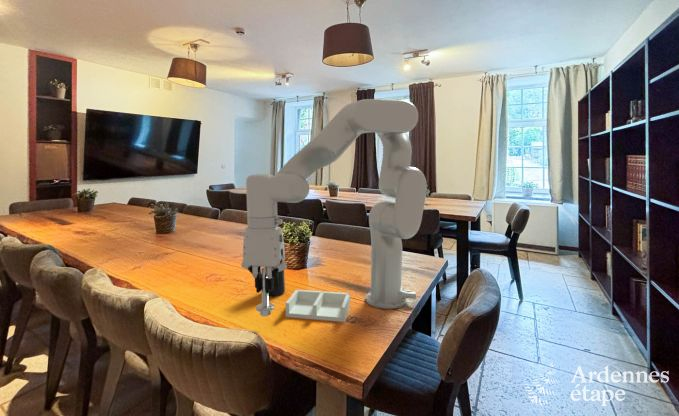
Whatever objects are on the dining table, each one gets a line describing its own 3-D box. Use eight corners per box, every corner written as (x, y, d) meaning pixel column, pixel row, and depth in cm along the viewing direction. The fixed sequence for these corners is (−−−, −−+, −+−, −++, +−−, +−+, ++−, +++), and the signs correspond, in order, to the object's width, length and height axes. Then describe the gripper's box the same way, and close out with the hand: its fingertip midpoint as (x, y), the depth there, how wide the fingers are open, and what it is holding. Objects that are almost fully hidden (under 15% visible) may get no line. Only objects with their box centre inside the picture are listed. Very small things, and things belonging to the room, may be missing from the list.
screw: (278, 312, 91) (268, 319, 86) (262, 309, 92) (252, 316, 88) (276, 265, 89) (266, 271, 84) (261, 263, 90) (250, 269, 86)
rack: (350, 306, 102) (350, 293, 101) (344, 322, 92) (344, 307, 91) (296, 302, 105) (296, 289, 104) (285, 317, 95) (285, 303, 94)
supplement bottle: (273, 287, 117) (272, 254, 115) (289, 291, 113) (288, 257, 112) (259, 294, 111) (258, 259, 109) (275, 298, 108) (274, 262, 106)
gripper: (296, 221, 88) (297, 287, 91) (240, 219, 91) (243, 283, 93) (287, 226, 81) (288, 299, 83) (226, 224, 83) (229, 294, 86)
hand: (264, 290), depth 88 cm, fingers closed on screw, 2 cm apart
